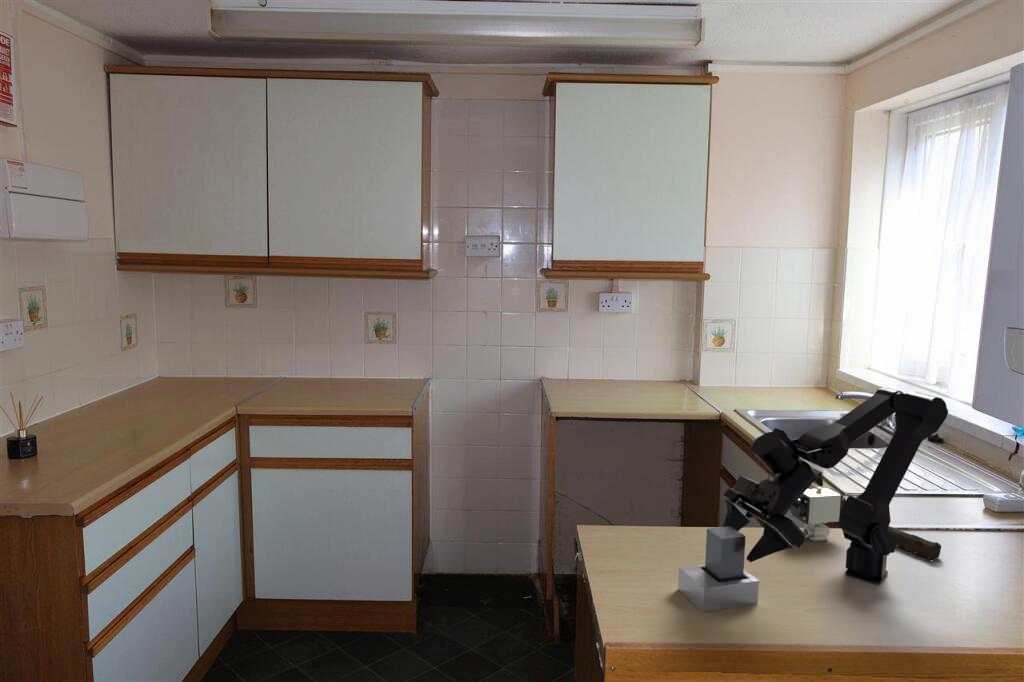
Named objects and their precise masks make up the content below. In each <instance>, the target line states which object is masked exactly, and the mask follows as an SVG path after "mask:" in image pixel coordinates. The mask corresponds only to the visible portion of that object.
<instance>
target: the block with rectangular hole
mask: <svg viewBox="0 0 1024 682" xmlns="http://www.w3.org/2000/svg"><path fill="white" fill-rule="evenodd" d="M677 580H678V585H677V590H678V589H679V590H680V591H679V592H680V593H682V594H683V595H684V597H686V598H687V599H688V600H689V601H690V602H691V603H692V604H694V606H696V607H697V608H698V610H700V611H701V612H702V613H704V612H713V611H718V610H725V609H732V608H738V607H745V606H752V605H758V604H759V603H758V601H759V590H760V589H759V588H760V587H759V586H760V580H759V579H758V578H756V577H755V576H754V575H752V574H751V573H749V572H748V571H747V570H746V569H744V573H743V579H742V580H735V581H728V582H721V583H718V582H717V581H716V580H715V579H713V578H712V577H711V576H710V575H708V574H707V573H706V572H705V563H698V564H691V565H685V566H684V565H683V566H679V567H678V579H677Z"/></svg>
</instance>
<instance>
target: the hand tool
mask: <svg viewBox="0 0 1024 682" xmlns="http://www.w3.org/2000/svg"><path fill="white" fill-rule="evenodd" d="M887 531H888V532H889V533H890V534H891V535H892V537H893V538H894V539H895V540H896V541H897V542H898V544H897V547H900V548H903V549H905V550H907V551H911V552H913V553H915V554H917V555H919V556H923V557H925V558H927V559H928V561H929V560H930V561H929V562H932V561H931V560H933V561H936V560H938V559H939V557H940V555H941V549H942V545H941V543H939V542H937V541H936V542H935V541H930V540H927V539H925V538H923V537H920V536H918V535H915V534H911V533H908V532H905V531H903V530H900V529H898V528H895V527H892V526H890V525H889V527H888V530H887ZM937 558H938V559H937ZM935 559H936V560H935Z"/></svg>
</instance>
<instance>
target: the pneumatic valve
mask: <svg viewBox="0 0 1024 682" xmlns="http://www.w3.org/2000/svg"><path fill="white" fill-rule="evenodd" d="M846 499H847V498H846V497H845V496H844V494H843V493H840V492H839V491H837V490H835V489H833V488H831V487H828V488H827V487H823V488H822V487H821V486H818V487H816V488H815V487H814V488H807V490H806V491H805V492H804V493H803V494H802V496H801V497H800V498H799V499H798V500H797V501H796V502H797V503H798V504H799V505H800V506H799V507H798V508H797V509H795V508H793V507H791V509H790V510H789V511H790V513H791V515H792V516H793V517H794V518H795V519H797V520H799V521H801V522H802V523H803V524H804V526H805V527H803V530H802V531H803V533H804V534H805V538H808V539H810V540H811V542H814V543H815V542H824V541H826V542H827V540H828V537H829V535H830V534H831V530H830V528H829V526H828V525H826V524H827V523H835V522H836V523H837V522H838V523H839V518H840V515H841V513H840V512H839V511H840V510H841V509H842V508H843V506H844V505H845V502H846Z"/></svg>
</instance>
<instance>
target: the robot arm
mask: <svg viewBox="0 0 1024 682" xmlns="http://www.w3.org/2000/svg"><path fill="white" fill-rule="evenodd" d="M948 414H949V409H948V407H947V404H946V401H945V400H944V399H943V398H941V397H937V396H934V395H931V394H926V393H922V392H919V391H909V392H907V393H906V392H905V393H904V392H903V391H901V390H898V389H893V388H890V387H880V388H878V389H877V390H875V392H874V394H873V395H872V396H870V397H869V398H867V399H866V400H864V401H863V402H862V403H860V404H858V405H857V406H856V407H854V408H853V409H852V410H850V411H849V412H847V413H846V414H844V415H843V416H842V417H840V418H839V419H838V420H836V421H834V422H832V423H830V424H826V425H823V426H822V425H821V426H816V427H815V428H813V429H810V430H808V431H806V432H805V433H802V435H800V436H799V437H797V438H792V439H790V437H788V435H787V433H786V432H785V430H783V429H781V428H778V427H775V428H774V429H773V430H772V431H768V432H765V433H764V434H762V435H760V436H757V437H756V438H755V440H754V442H753V443H752V445H751V451H752V453H753V454H754V455H755V457H757V459H758V460H759V461H760V462H762V464H763V465H764V466H765V467H766V468H767V469H768V471H770V472H771V473H772V474H776V475H775V476H774V477H773V478H772V479H770V480H769V479H768V478H765V479H763V480H761V481H760V482H758V481H756V480H753V479H751V478H748V477H746V476H744V475H741V474H739V476H738V477H737V480H736V482H735V485H734V487H729V488H727V490H726V491H725V492H724V494H723V495H722V496H723V498H724V504H726V510H727V511H726V516H725V519H724V521H723V524H722V527H726V526H731V527H732V528H734V529H735V530H737V531H738V532H740V530H742V528H744V527H746V526H747V525H748V524H749V523H750V522H751V521H750V520H749V519H751V518H754V517H755V518H756V519H759V520H761V521H762V522H764V525H763V526H764V527H763V532H762V533H763V534H762V536H760V538H759V539H758V540H757V542H756V544H754V546H753V547H752V548H751V550H750V551H749V553H748V555H747V556H746V560H747V561H748V563H752V562H756V561H758V560H760V559H762V558H765V557H767V556H770V555H772V554H775V553H778V552H782V551H785V550H787V549H789V550H792V549H793V547H795V548H796V549H800V548H801V547H802V546H803V545H804V543H805V542H806V537H805V534H804V533H803V530H802V529H801V528H800V527H799V526H798V525H797V524H796V523H795V522H794V521H793V520H792V519H790V518H789V517H787V516H786V514H787V513H789V511H790V509H791V507H793V508H795V509H797V508H798V507H799V506H800V505H799V504H798V503H797V502H796V501H797V500H798V499H799V498H800V497H801V496H802V494H803V493H804V492H805V491H806V490H807V489H809V487H810V486H811V485H812V484H815V485H816V486H818V487H821V488H822V487H823V486H824V480H823V472H822V471H821V470H818V469H816V468H813V467H812V466H811V465H810V464H813V465H815V466H818V467H820V468H822V469H827V470H828V469H832V468H834V467H836V466H837V465H838V464H839V463H840V462H841V461H842V460H843V459H844V458H845V457H846V456H847V455H848V453H849V449H850V447H851V445H852V444H853V443H855V441H857V440H858V439H860V438H861V437H862V436H864V435H866V434H867V433H869V432H870V431H871V430H872V429H874V428H875V427H876V426H878V425H880V424H881V423H883V422H884V421H885V420H887V419H888V418H890V417H891V416H892V415H894V421H895V430H894V432H893V434H892V437H891V439H890V440H889V442H888V443H887V446H886V448H885V451H884V453H883V454H882V456H881V458H880V460H879V462H878V464H877V465H876V468H875V470H874V471H873V473H872V475H871V478H870V480H869V481H868V483H867V485H866V486H865V489H864V491H863V492H862V493H860V494H859V495H857V496H852V495H851V494H850V495H848V497H846V498H845V499H846V502H845V505H844V506H843V508H842V509H841V510H840V511H839V512H840V513H841V515H840V518H839V522H838V523H839V527H840V529H841V531H842V533H843V537H844V539H846V540H849V541H850V542H849V543H850V544H849V546H848V548H847V549H846V558H845V569H846V571H845V573H844V574H845V575H846V576H849V577H853V578H857V579H858V580H859V579H860V580H864V581H867V582H871V583H874V584H876V585H881V584H882V582H883V581H884V580H885V578H886V577H887V576H888V573H889V571H888V570H887V561H888V556H890V554H892V553H895V552H896V549H897V547H898V545H897V544H898V542H897V541H896V540H895V539H894V538H893V537H892V535H891V534H890V533H889V532H888V531H887V530H888V527H889V526H890V523H891V512H890V511H891V510H890V504H891V502H892V501H893V498H894V496H895V494H896V492H897V491H898V488H899V486H901V485H900V484H901V483H902V481H903V479H904V477H905V475H906V474H907V471H908V469H909V467H910V466H911V464H912V461H913V460H914V457H915V455H917V454H916V453H918V450H919V448H920V447H921V444H922V442H923V441H925V440H926V439H928V438H929V437H931V436H932V435H934V434H936V433H937V432H938V431H939V429H940V428H941V426H942V425H943V424H944V422H945V420H946V419H947V418H948ZM800 458H801V459H802V460H800ZM803 460H804V461H803ZM809 463H810V464H809Z"/></svg>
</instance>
